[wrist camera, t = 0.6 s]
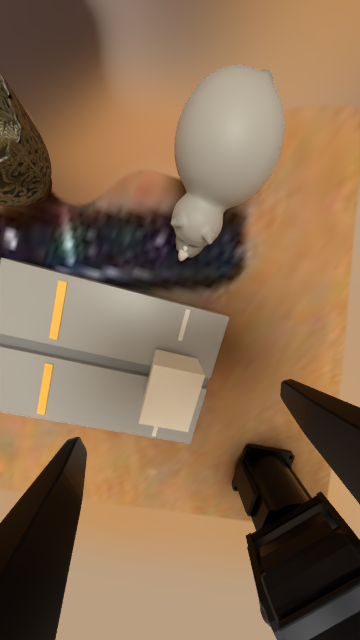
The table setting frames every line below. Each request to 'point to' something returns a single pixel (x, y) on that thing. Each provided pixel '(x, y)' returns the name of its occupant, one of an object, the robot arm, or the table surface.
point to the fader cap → (171, 391)
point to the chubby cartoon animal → (224, 150)
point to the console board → (93, 348)
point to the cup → (21, 154)
